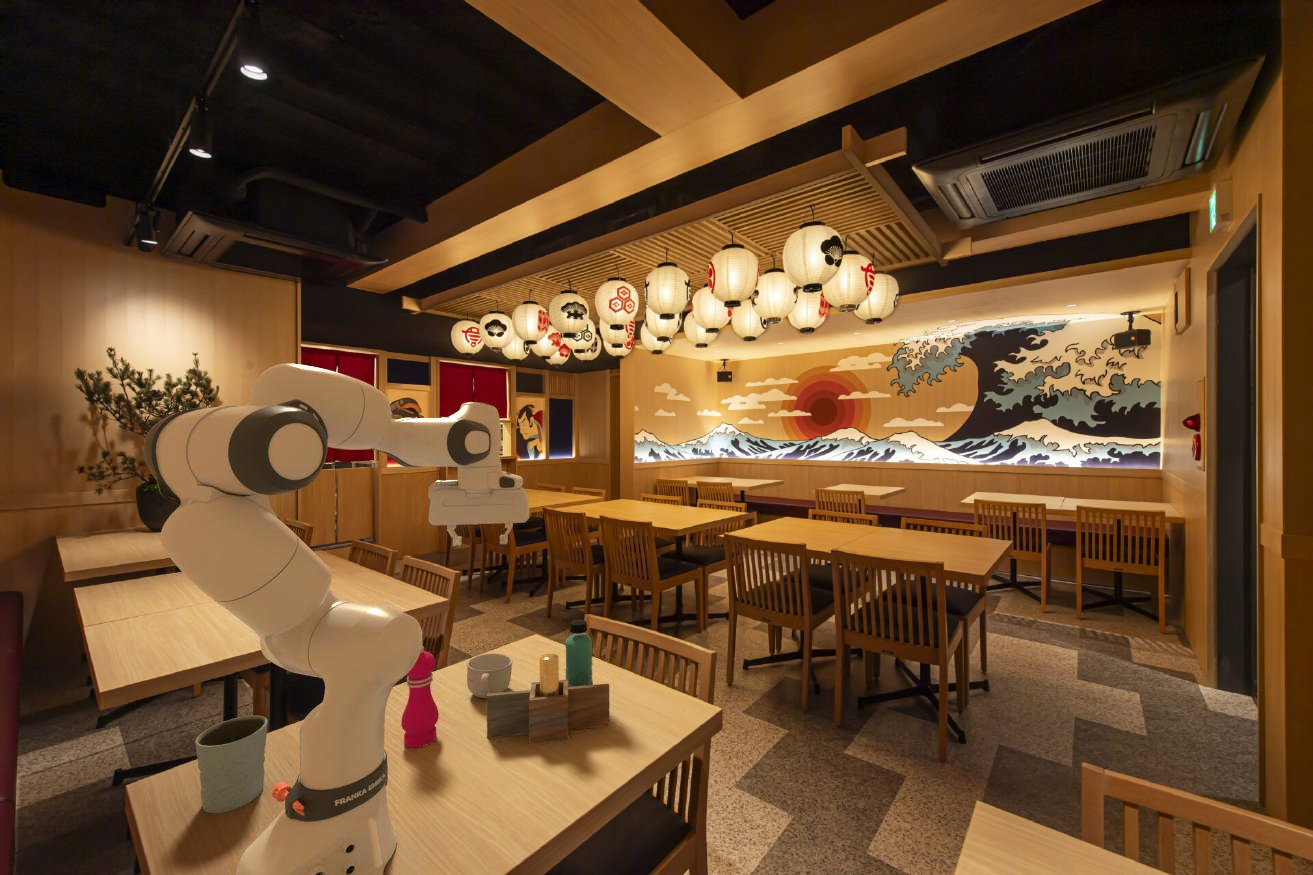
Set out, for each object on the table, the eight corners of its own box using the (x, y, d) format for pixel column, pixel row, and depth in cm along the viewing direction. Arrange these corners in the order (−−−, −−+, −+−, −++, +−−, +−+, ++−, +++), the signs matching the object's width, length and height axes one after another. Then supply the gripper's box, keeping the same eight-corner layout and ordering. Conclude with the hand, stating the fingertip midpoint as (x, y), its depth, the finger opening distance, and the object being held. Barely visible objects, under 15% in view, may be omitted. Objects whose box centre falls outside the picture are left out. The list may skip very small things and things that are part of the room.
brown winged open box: (610, 735, 113) (610, 693, 113) (484, 747, 109) (484, 704, 109) (608, 715, 121) (607, 676, 121) (490, 726, 117) (489, 685, 117)
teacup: (476, 681, 138) (476, 651, 137) (518, 682, 137) (517, 651, 137) (454, 709, 124) (454, 675, 124) (500, 710, 123) (499, 676, 123)
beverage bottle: (581, 715, 121) (580, 628, 121) (559, 707, 124) (558, 623, 124) (598, 703, 126) (598, 619, 126) (577, 695, 130) (576, 614, 130)
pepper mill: (424, 751, 108) (424, 653, 107) (393, 747, 109) (392, 650, 109) (445, 731, 115) (445, 640, 114) (416, 728, 116) (415, 637, 116)
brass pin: (549, 738, 112) (548, 663, 112) (536, 731, 114) (535, 658, 114) (562, 729, 115) (562, 656, 115) (549, 723, 118) (549, 652, 117)
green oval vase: (211, 824, 88) (211, 752, 88) (185, 803, 93) (184, 735, 92) (279, 788, 97) (279, 723, 96) (251, 771, 101) (251, 709, 101)
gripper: (424, 482, 107) (424, 550, 107) (527, 479, 110) (528, 545, 111) (432, 479, 113) (432, 543, 113) (529, 477, 117) (530, 539, 117)
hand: (480, 544), depth 112 cm, fingers open, 8 cm apart
